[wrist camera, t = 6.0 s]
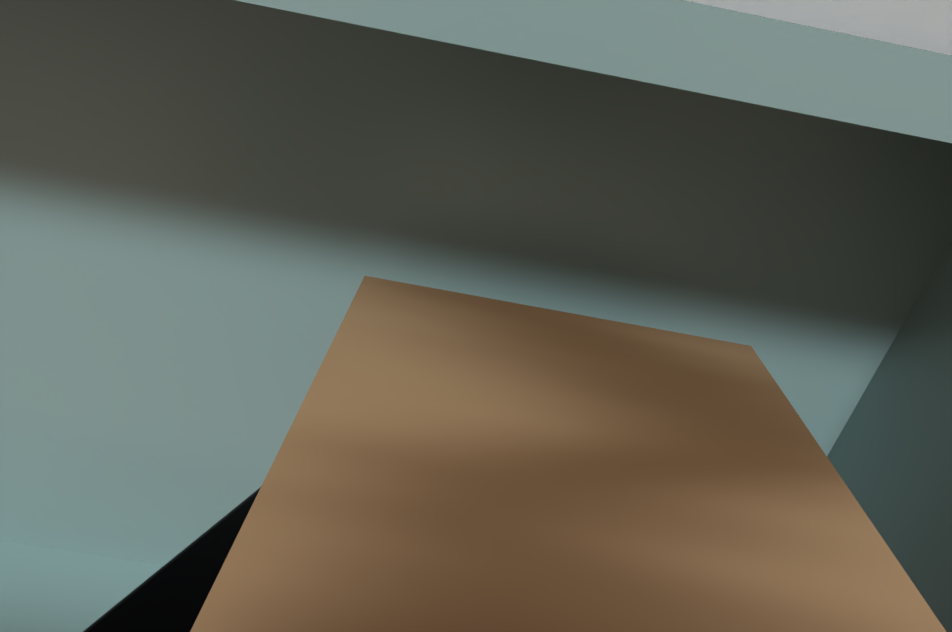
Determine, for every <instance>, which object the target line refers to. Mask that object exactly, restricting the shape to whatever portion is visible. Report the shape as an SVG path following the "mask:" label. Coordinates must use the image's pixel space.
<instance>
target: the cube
mask: <svg viewBox="0 0 952 632" xmlns="http://www.w3.org/2000/svg"><path fill="white" fill-rule="evenodd" d="M190 632H946V630H945V629H944V627H943V626H942V624H941V623H940V622H939V620H938V619H937V617H936V616H935V614H934V613H933V611H932V610H931V608H930V607H929V605H928V604H927V602H926V601H925V600H924V598H923V597H922V595H921V594H920V592H919V591H918V589H917V588H916V586H915V585H914V583H913V582H912V581H911V579H910V578H909V576H908V575H907V573H906V572H905V570H904V569H903V567H902V566H901V564H900V563H899V562H898V560H897V559H896V557H895V556H894V554H893V553H892V551H891V550H890V548H889V547H888V545H887V544H886V542H885V541H884V540H883V538H882V537H881V535H880V534H879V532H878V531H877V529H876V528H875V526H874V525H873V523H872V522H871V521H870V519H869V518H868V516H867V515H866V513H865V512H864V510H863V509H862V507H861V506H860V504H859V503H858V501H857V500H856V499H855V497H854V496H853V494H852V493H851V491H850V490H849V488H848V487H847V485H846V484H845V482H844V481H843V480H842V478H841V477H840V475H839V474H838V472H837V471H836V469H835V468H834V466H833V465H832V463H831V462H830V461H829V459H828V458H827V456H826V455H825V453H824V452H823V450H822V449H821V447H820V446H819V444H818V443H817V441H816V440H815V439H814V437H813V436H812V434H811V433H810V431H809V430H808V428H807V427H806V425H805V424H804V422H803V421H802V420H801V418H800V417H799V415H798V414H797V412H796V411H795V409H794V408H793V406H792V405H791V403H790V402H789V400H788V399H787V398H786V396H785V395H784V393H783V392H782V390H781V389H780V387H779V386H778V384H777V383H776V381H775V380H774V379H773V377H772V376H771V374H770V373H769V371H768V370H767V368H766V367H765V365H764V364H763V362H762V361H761V360H760V358H759V357H758V355H757V354H756V352H755V351H754V349H753V348H752V346H749V345H744V344H738V343H733V342H727V341H722V340H716V339H711V338H705V337H700V336H694V335H689V334H683V333H678V332H672V331H667V330H661V329H656V328H650V327H645V326H639V325H634V324H628V323H623V322H617V321H612V320H606V319H601V318H595V317H590V316H584V315H579V314H573V313H568V312H562V311H557V310H551V309H546V308H540V307H535V306H529V305H524V304H518V303H513V302H507V301H502V300H496V299H491V298H485V297H480V296H474V295H469V294H463V293H458V292H452V291H447V290H441V289H436V288H430V287H425V286H419V285H414V284H408V283H403V282H397V281H392V280H386V279H381V278H375V277H370V276H364V278H363V280H362V282H361V284H360V286H359V288H358V290H357V292H356V294H355V296H354V298H353V300H352V302H351V304H350V307H349V309H348V311H347V313H346V315H345V317H344V319H343V321H342V323H341V325H340V327H339V329H338V331H337V333H336V335H335V337H334V339H333V341H332V343H331V345H330V347H329V349H328V351H327V353H326V356H325V358H324V360H323V362H322V364H321V366H320V368H319V370H318V372H317V374H316V376H315V378H314V380H313V382H312V384H311V386H310V388H309V390H308V392H307V394H306V396H305V398H304V400H303V402H302V404H301V407H300V409H299V411H298V413H297V415H296V417H295V419H294V421H293V423H292V425H291V427H290V429H289V431H288V433H287V435H286V437H285V439H284V441H283V443H282V445H281V447H280V449H279V451H278V453H277V456H276V458H275V460H274V462H273V464H272V466H271V468H270V470H269V472H268V474H267V476H266V478H265V480H264V482H263V484H262V486H261V488H260V490H259V492H258V494H257V496H256V498H255V500H254V502H253V504H252V507H251V509H250V511H249V513H248V515H247V517H246V519H245V521H244V523H243V525H242V527H241V529H240V531H239V533H238V535H237V537H236V539H235V541H234V543H233V545H232V547H231V549H230V551H229V553H228V556H227V558H226V560H225V562H224V564H223V566H222V568H221V570H220V572H219V574H218V576H217V578H216V580H215V582H214V584H213V586H212V588H211V590H210V592H209V594H208V596H207V598H206V600H205V602H204V604H203V607H202V609H201V611H200V613H199V615H198V617H197V619H196V621H195V623H194V625H193V627H192V629H191V631H190Z"/></svg>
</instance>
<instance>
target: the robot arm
mask: <svg viewBox="0 0 952 632" xmlns="http://www.w3.org/2000/svg"><path fill="white" fill-rule="evenodd" d="M260 488H261V487H260ZM260 488H259V489H257V490H256V491H255V492H254V493H252V494H251V495H250V496H249V497H248V498H246V499H245V500H244V501H243V502H241V503H240V504H239V505H238V506H236V507H235V508H234V509H233V510H232V511H230V512H229V513H228V514H227V515H225V516H224V517H223V518H222V519H220V520H219V521H218V522H217V523H216V524H214V525H213V526H212V527H211V528H209V529H208V530H207V531H206V532H204V533H203V534H202V535H201V536H200V537H198V538H197V539H196V540H195V541H193V542H192V543H191V544H190V545H188V546H187V547H186V548H185V549H184V550H182V551H181V552H180V553H179V554H177V555H176V556H175V557H174V558H172V559H171V560H170V561H169V562H168V563H166V564H165V565H164V566H163V567H161V568H160V569H159V570H158V571H156V572H155V573H154V574H153V575H152V576H150V577H149V578H148V579H147V580H145V581H144V582H143V583H142V584H140V585H139V586H138V587H137V588H136V589H134V590H133V591H132V592H131V593H129V594H128V595H127V596H126V597H124V598H123V599H122V600H121V601H120V602H118V603H117V604H116V605H115V606H113V607H112V608H111V609H110V610H108V611H107V612H106V613H105V614H104V615H102V616H101V617H100V618H99V619H97V620H96V621H95V622H94V623H92V624H91V625H90V626H89V627H88V628H86V629H85V630H84V631H83V632H190V631H191V629H192V627H193V625H194V623H195V621H196V619H197V617H198V615H199V613H200V611H201V609H202V607H203V604H204V602H205V600H206V598H207V596H208V594H209V592H210V590H211V588H212V586H213V584H214V582H215V580H216V578H217V576H218V574H219V572H220V570H221V568H222V566H223V564H224V562H225V560H226V558H227V556H228V553H229V551H230V549H231V547H232V545H233V543H234V541H235V539H236V537H237V535H238V533H239V531H240V529H241V527H242V525H243V523H244V521H245V519H246V517H247V515H248V513H249V511H250V509H251V507H252V504H253V502H254V500H255V498H256V496H257V494H258V492H259V490H260Z"/></svg>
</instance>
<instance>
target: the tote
mask: <svg viewBox="0 0 952 632" xmlns="http://www.w3.org/2000/svg"><path fill="white" fill-rule="evenodd" d="M364 276H370V277H375V278H381V279H386V280H392V281H397V282H403V283H408V284H414V285H419V286H425V287H430V288H436V289H441V290H447V291H452V292H458V293H463V294H469V295H474V296H480V297H485V298H491V299H496V300H502V301H507V302H513V303H518V304H524V305H529V306H535V307H540V308H546V309H551V310H557V311H562V312H568V313H573V314H579V315H584V316H590V317H595V318H601V319H606V320H612V321H617V322H623V323H628V324H634V325H639V326H645V327H650V328H656V329H661V330H667V331H672V332H678V333H683V334H689V335H694V336H700V337H705V338H711V339H716V340H722V341H727V342H733V343H738V344H744V345H749V346H752V348H753V349H754V351H755V352H756V354H757V355H758V357H759V358H760V360H761V361H762V362H763V364H764V365H765V367H766V368H767V370H768V371H769V373H770V374H771V376H772V377H773V379H774V380H775V381H776V383H777V384H778V386H779V387H780V389H781V390H782V392H783V393H784V395H785V396H786V398H787V399H788V400H789V402H790V403H791V405H792V406H793V408H794V409H795V411H796V412H797V414H798V415H799V417H800V418H801V420H802V421H803V422H804V424H805V425H806V427H807V428H808V430H809V431H810V433H811V434H812V436H813V437H814V439H815V440H816V441H817V443H818V444H819V446H820V447H821V449H822V450H823V452H824V453H825V455H826V456H827V458H828V459H829V461H830V462H831V463H832V465H833V466H834V468H835V469H836V471H837V472H838V474H839V475H840V477H841V478H842V480H843V481H844V482H845V484H846V485H847V487H848V488H849V490H850V491H851V493H852V494H853V496H854V497H855V499H856V500H857V501H858V503H859V504H860V506H861V507H862V509H863V510H864V512H865V513H866V515H867V516H868V518H869V519H870V521H871V522H872V523H873V525H874V526H875V528H876V529H877V531H878V532H879V534H880V535H881V537H882V538H883V540H884V541H885V542H886V544H887V545H888V547H889V548H890V550H891V551H892V553H893V554H894V556H895V557H896V559H897V560H898V562H899V563H900V564H901V566H902V567H903V569H904V570H905V572H906V573H907V575H908V576H909V578H910V579H911V581H912V582H913V583H914V585H915V586H916V588H917V589H918V591H919V592H920V594H921V595H922V597H923V598H924V600H925V601H926V602H927V604H928V605H929V607H930V608H931V610H932V611H933V613H934V614H935V616H936V617H937V619H938V620H939V622H940V623H941V624H942V626H943V627H944V629H945V630H946V632H952V56H950V55H946V54H941V53H936V52H931V51H926V50H921V49H916V48H912V47H907V46H902V45H897V44H892V43H887V42H883V41H878V40H873V39H868V38H863V37H858V36H853V35H849V34H844V33H839V32H834V31H829V30H824V29H820V28H815V27H810V26H805V25H800V24H795V23H790V22H786V21H781V20H776V19H771V18H766V17H761V16H757V15H752V14H747V13H742V12H737V11H732V10H727V9H723V8H718V7H713V6H708V5H703V4H698V3H694V2H689V1H684V0H0V632H83V631H84V630H85V629H86V628H88V627H89V626H90V625H91V624H92V623H94V622H95V621H96V620H97V619H99V618H100V617H101V616H102V615H104V614H105V613H106V612H107V611H108V610H110V609H111V608H112V607H113V606H115V605H116V604H117V603H118V602H120V601H121V600H122V599H123V598H124V597H126V596H127V595H128V594H129V593H131V592H132V591H133V590H134V589H136V588H137V587H138V586H139V585H140V584H142V583H143V582H144V581H145V580H147V579H148V578H149V577H150V576H152V575H153V574H154V573H155V572H156V571H158V570H159V569H160V568H161V567H163V566H164V565H165V564H166V563H168V562H169V561H170V560H171V559H172V558H174V557H175V556H176V555H177V554H179V553H180V552H181V551H182V550H184V549H185V548H186V547H187V546H188V545H190V544H191V543H192V542H193V541H195V540H196V539H197V538H198V537H200V536H201V535H202V534H203V533H204V532H206V531H207V530H208V529H209V528H211V527H212V526H213V525H214V524H216V523H217V522H218V521H219V520H220V519H222V518H223V517H224V516H225V515H227V514H228V513H229V512H230V511H232V510H233V509H234V508H235V507H236V506H238V505H239V504H240V503H241V502H243V501H244V500H245V499H246V498H248V497H249V496H250V495H251V494H252V493H254V492H255V491H256V490H257V489H259V488H260V487H261V486H262V484H263V482H264V480H265V478H266V476H267V474H268V472H269V470H270V468H271V466H272V464H273V462H274V460H275V458H276V456H277V453H278V451H279V449H280V447H281V445H282V443H283V441H284V439H285V437H286V435H287V433H288V431H289V429H290V427H291V425H292V423H293V421H294V419H295V417H296V415H297V413H298V411H299V409H300V407H301V404H302V402H303V400H304V398H305V396H306V394H307V392H308V390H309V388H310V386H311V384H312V382H313V380H314V378H315V376H316V374H317V372H318V370H319V368H320V366H321V364H322V362H323V360H324V358H325V356H326V353H327V351H328V349H329V347H330V345H331V343H332V341H333V339H334V337H335V335H336V333H337V331H338V329H339V327H340V325H341V323H342V321H343V319H344V317H345V315H346V313H347V311H348V309H349V307H350V304H351V302H352V300H353V298H354V296H355V294H356V292H357V290H358V288H359V286H360V284H361V282H362V280H363V278H364Z"/></svg>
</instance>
